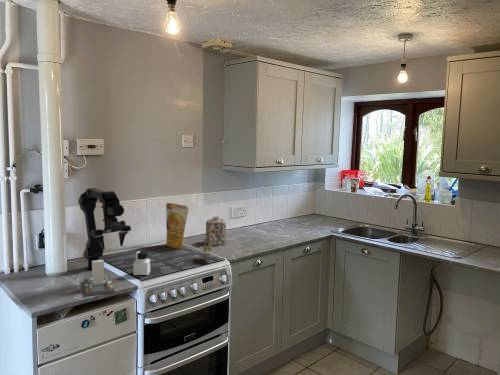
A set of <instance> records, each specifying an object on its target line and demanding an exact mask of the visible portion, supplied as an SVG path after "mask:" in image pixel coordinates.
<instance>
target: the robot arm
mask: <svg viewBox="0 0 500 375" xmlns="http://www.w3.org/2000/svg"><path fill="white" fill-rule="evenodd" d="M97 201H98V202H100V203H101V209H102V214H103V216H102V217H103V219H102V222H104V223H103V224H104V225H103V226H104V227H103V229H99V228H98V229H97V224H96V219H95V218H96V217H95V210H96V207H97ZM78 205H79V208H80V210H81V211H82V212H83V214H84V220H85V227H86V234H87V241H86V244H85V249H84V251H83V253H82V254H83V259H84V258H85V260H87V266H84V269H87V270H89V271H92V261H95V260H100V257H103V255H104V250H105V241H104V240H105V238H104V237H105V235H103V234H109V233H116V232H118V239H119V245H120V246H119V247H123V246H124V241H125V237H126V235H127V234H129V232H131V231H132V227H131V226H130V224H129V225H126V221H125V220H119V221H118V218H117V217H122V216H123V214H124V212H125V208H124V207H123V205H122V204H121V202H120V199H119V198H118V196H117V194H116V192H115V191H113V190H112V191H111V190H110V191H104V190H101V189H98V188H96V187H91V188H90V187H89V188H87V189H86V190H85V191H84V192H83V193H82V194H80V196H79V198H78Z"/></svg>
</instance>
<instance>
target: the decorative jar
mask: <svg viewBox="0 0 500 375" xmlns="http://www.w3.org/2000/svg"><path fill="white" fill-rule="evenodd" d="M209 237H210V246H224V245H227V225H226V222H225V220H224V218H223V219H222V218H220V217H219V216H213V217H212V218H209V219H208V220H207V221H206V222H205V238H206V244H208V245H209Z"/></svg>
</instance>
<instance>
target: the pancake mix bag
mask: <svg viewBox="0 0 500 375" xmlns="http://www.w3.org/2000/svg"><path fill="white" fill-rule="evenodd" d="M165 205H166V206H165V209H166V210H165V211H166V212H165V213H166V216H165V217H166V221H165V224H166V226H165V227H166V243H165V244H167V245H166V246H167V247H169V248H173V249H176V250H183V249H184V248H183V240H184V234H185V228H186V223H187V219H188V217H187V216H188V213H189V206H187V205H183V204H177V203H171V202H167V203H165Z"/></svg>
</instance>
